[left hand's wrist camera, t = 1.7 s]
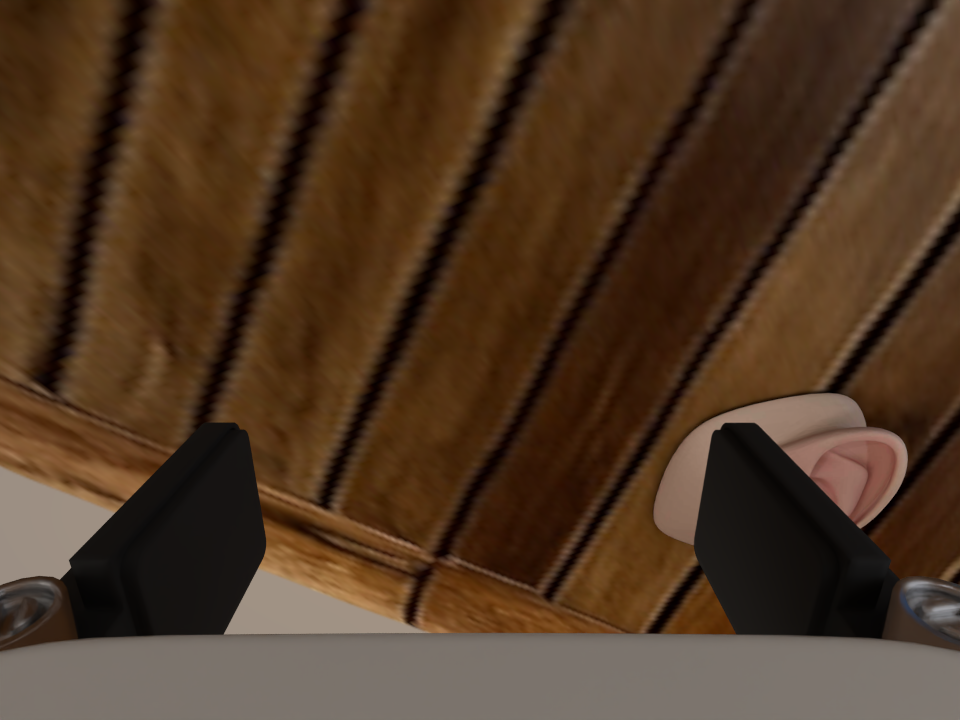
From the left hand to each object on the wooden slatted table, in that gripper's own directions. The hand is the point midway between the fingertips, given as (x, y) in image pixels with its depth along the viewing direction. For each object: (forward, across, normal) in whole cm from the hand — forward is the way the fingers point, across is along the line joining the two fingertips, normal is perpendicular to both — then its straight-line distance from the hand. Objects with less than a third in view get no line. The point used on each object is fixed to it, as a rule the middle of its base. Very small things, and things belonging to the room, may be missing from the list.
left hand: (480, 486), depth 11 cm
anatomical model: (+21, -18, +13) cm, 31 cm away
